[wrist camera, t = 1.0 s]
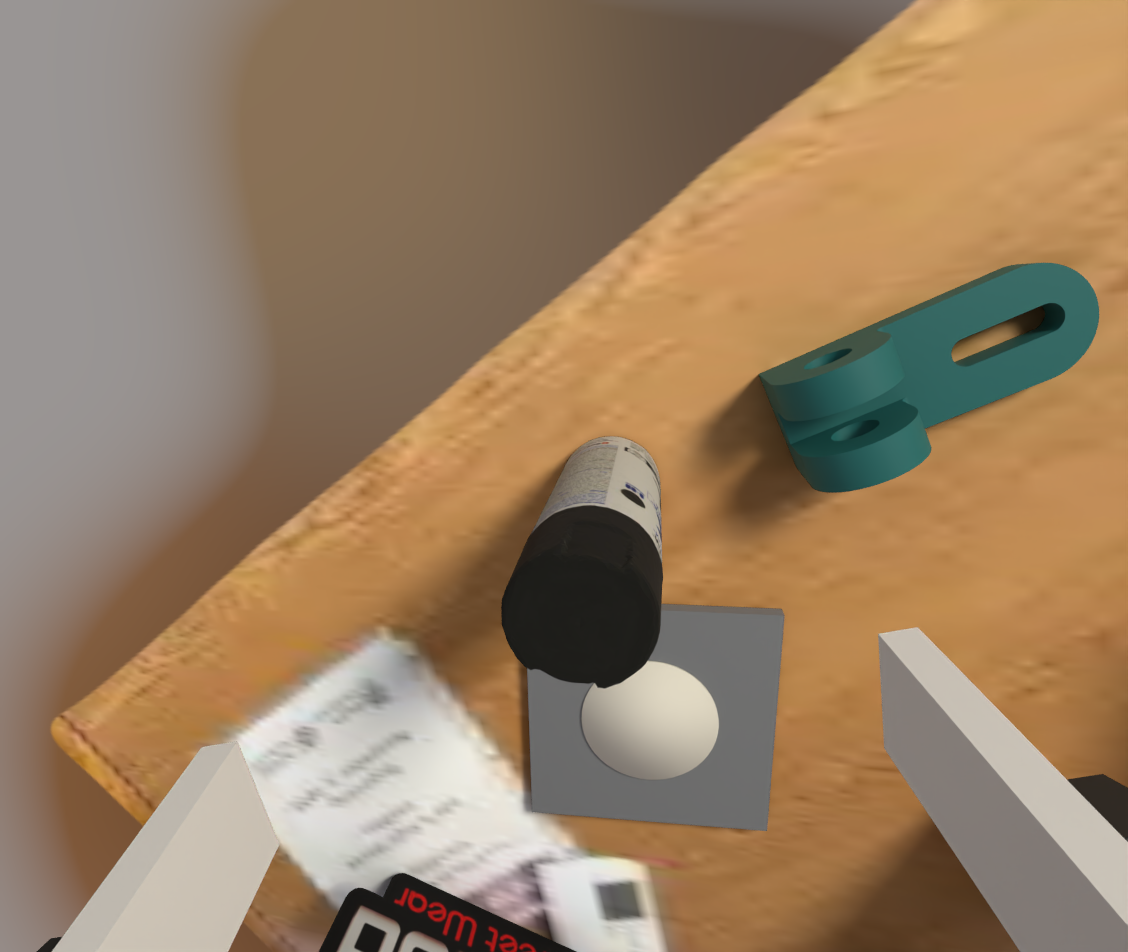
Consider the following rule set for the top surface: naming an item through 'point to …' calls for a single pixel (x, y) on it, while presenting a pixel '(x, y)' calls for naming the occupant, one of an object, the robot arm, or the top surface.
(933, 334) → the bracket
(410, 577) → the top surface
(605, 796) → the mat
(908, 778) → the robot arm
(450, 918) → the decorative sign
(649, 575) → the spray can
